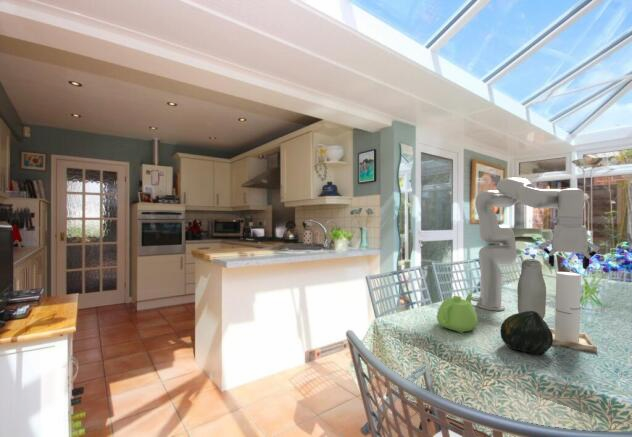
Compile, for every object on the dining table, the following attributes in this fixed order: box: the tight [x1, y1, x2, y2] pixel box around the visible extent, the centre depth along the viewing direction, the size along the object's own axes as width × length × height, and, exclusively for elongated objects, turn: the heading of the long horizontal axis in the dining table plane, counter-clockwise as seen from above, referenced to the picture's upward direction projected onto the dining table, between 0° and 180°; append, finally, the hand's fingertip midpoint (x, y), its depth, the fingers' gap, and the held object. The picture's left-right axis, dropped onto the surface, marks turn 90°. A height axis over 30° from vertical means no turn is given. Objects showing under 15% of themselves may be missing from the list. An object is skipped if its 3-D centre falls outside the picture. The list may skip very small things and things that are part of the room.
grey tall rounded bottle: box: [516, 258, 547, 320], centre depth 137 cm, size 10×10×28 cm
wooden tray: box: [549, 327, 598, 354], centre depth 116 cm, size 14×14×2 cm
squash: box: [499, 311, 553, 355], centre depth 108 cm, size 14×15×15 cm
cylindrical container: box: [554, 271, 582, 343], centre depth 116 cm, size 7×7×25 cm
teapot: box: [436, 293, 479, 333], centre depth 130 cm, size 22×15×13 cm
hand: (568, 267), depth 116 cm, fingers open, 9 cm apart
